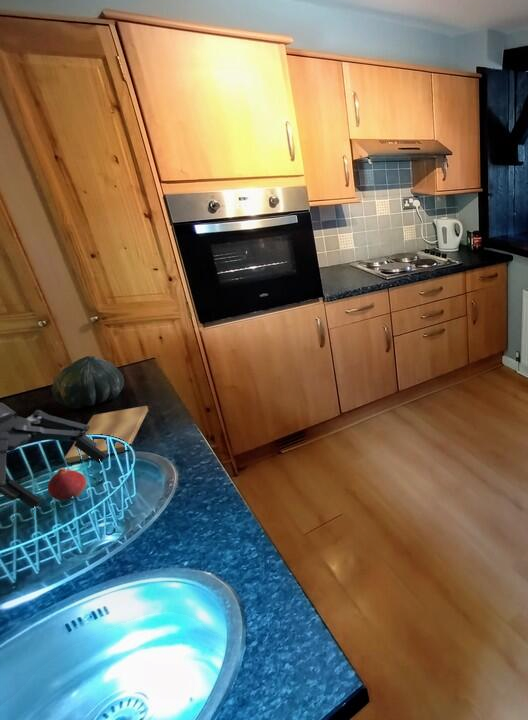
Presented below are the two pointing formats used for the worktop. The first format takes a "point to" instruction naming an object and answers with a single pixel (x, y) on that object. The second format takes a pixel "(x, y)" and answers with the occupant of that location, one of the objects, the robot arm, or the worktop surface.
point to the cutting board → (112, 429)
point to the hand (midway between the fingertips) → (73, 480)
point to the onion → (66, 484)
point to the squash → (87, 383)
